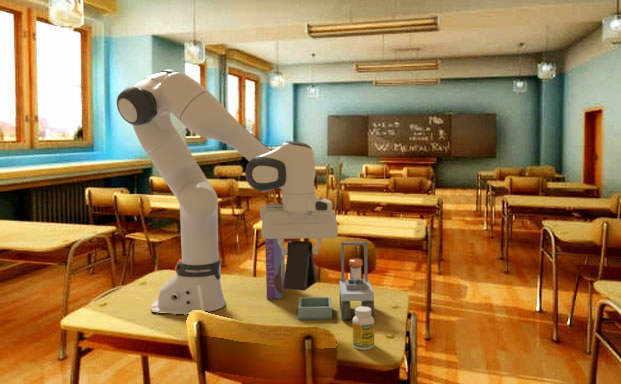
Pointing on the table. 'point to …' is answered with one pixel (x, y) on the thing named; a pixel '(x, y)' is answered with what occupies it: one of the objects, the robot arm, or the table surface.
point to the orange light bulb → (355, 270)
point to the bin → (314, 308)
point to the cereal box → (274, 269)
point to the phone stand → (299, 266)
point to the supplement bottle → (363, 329)
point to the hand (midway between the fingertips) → (300, 254)
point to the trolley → (355, 287)
